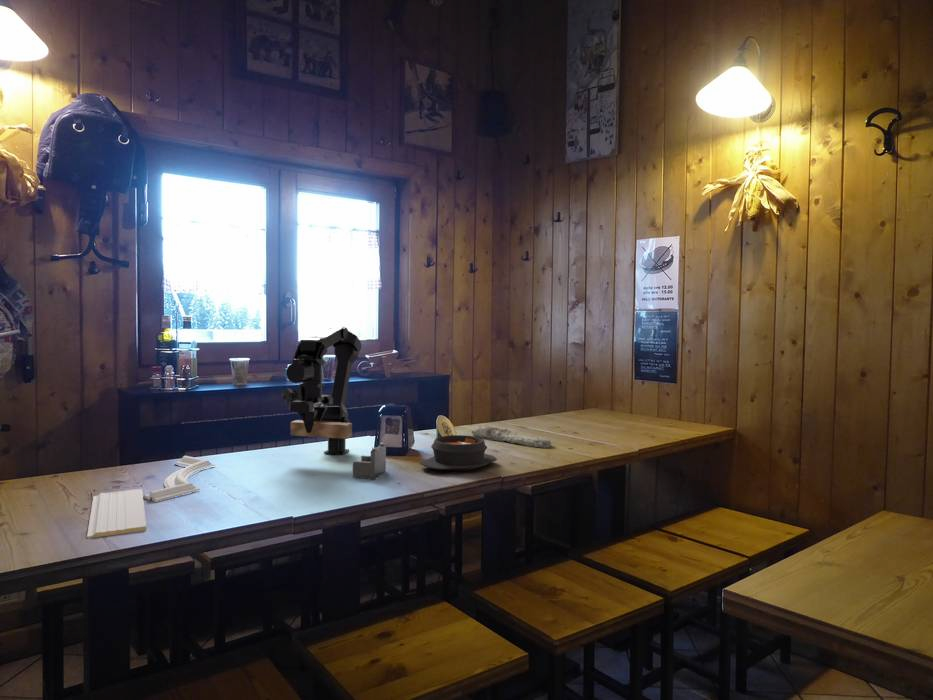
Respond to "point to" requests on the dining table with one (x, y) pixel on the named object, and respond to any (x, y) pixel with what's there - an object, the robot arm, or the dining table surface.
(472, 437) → the casserole
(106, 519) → the baseboard molding
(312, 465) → the dining table surface
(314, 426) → the brown wooden bar
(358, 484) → the dining table surface
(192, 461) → the molding
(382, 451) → the bracket
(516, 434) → the long grey stone
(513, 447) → the dining table surface
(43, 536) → the dining table surface
